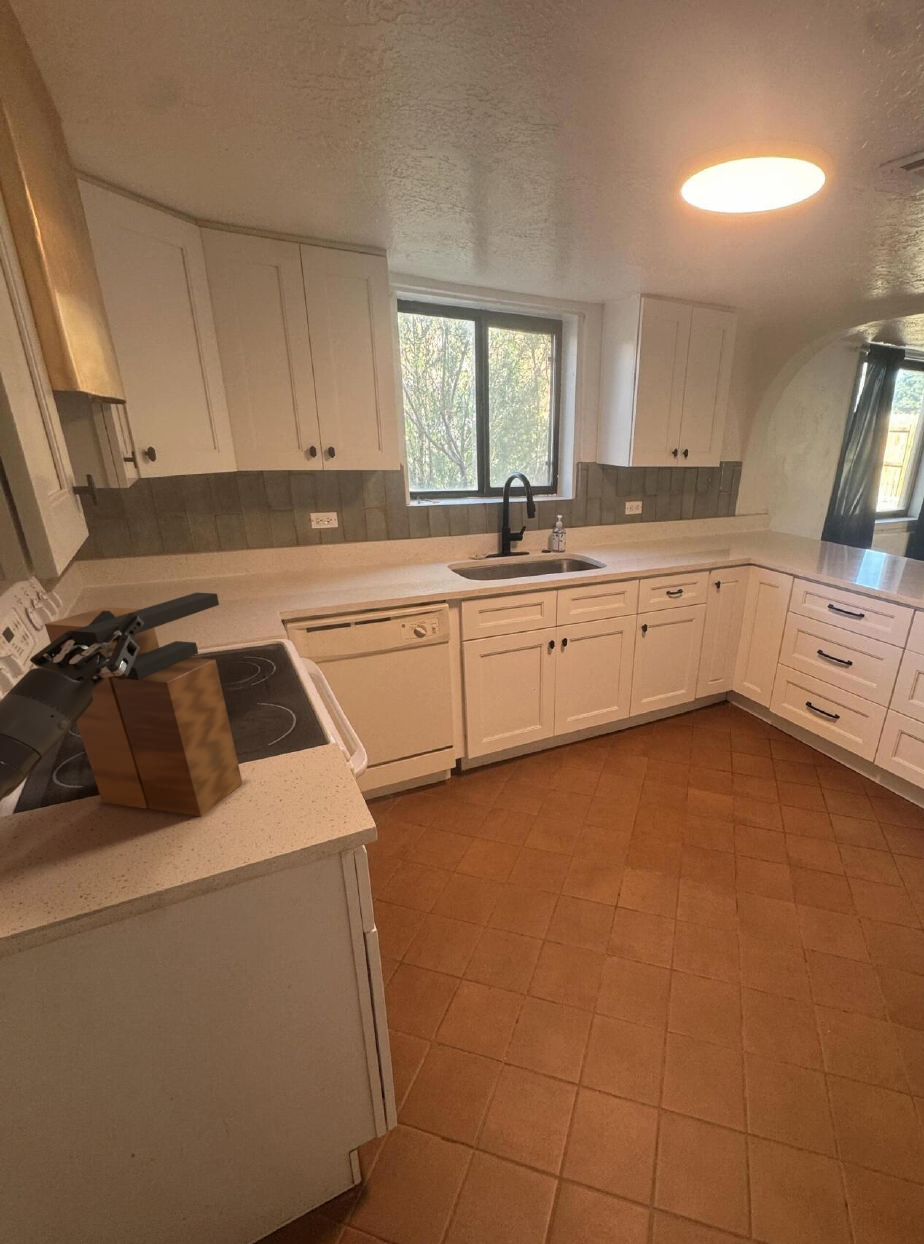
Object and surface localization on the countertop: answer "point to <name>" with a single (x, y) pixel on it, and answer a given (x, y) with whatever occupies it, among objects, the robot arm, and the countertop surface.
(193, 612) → the long pad
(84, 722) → the step stand
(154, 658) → the short pad
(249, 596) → the countertop surface
